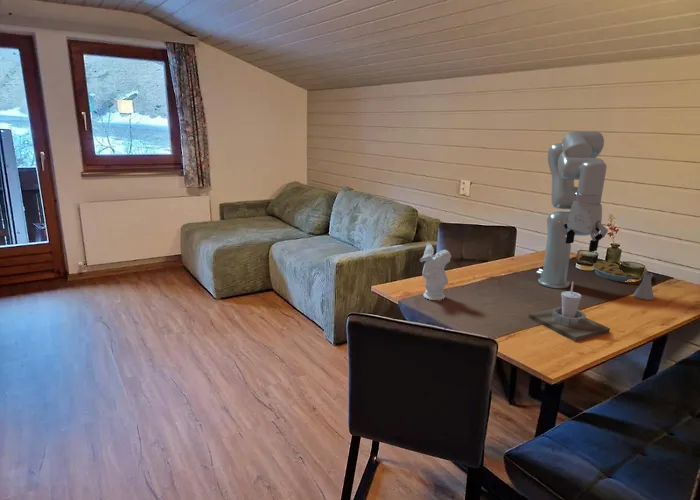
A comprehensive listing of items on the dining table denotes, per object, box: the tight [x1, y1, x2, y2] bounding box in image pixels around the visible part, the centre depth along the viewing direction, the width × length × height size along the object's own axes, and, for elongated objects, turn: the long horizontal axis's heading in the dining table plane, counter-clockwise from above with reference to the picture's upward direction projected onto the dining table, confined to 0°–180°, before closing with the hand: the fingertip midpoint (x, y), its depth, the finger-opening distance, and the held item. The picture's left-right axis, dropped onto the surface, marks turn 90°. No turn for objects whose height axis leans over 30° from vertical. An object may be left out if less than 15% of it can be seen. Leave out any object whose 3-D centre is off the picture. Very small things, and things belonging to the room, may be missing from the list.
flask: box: [633, 272, 655, 301], centre depth 182 cm, size 7×7×10 cm
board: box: [528, 306, 611, 342], centre depth 159 cm, size 20×16×2 cm
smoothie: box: [560, 281, 582, 318], centre depth 157 cm, size 6×6×14 cm
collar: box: [552, 306, 587, 327], centre depth 158 cm, size 10×10×3 cm
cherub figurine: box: [419, 241, 452, 301], centre depth 180 cm, size 12×12×22 cm
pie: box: [592, 259, 649, 283], centre depth 208 cm, size 22×22×5 cm
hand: (580, 246), depth 159 cm, fingers open, 9 cm apart
